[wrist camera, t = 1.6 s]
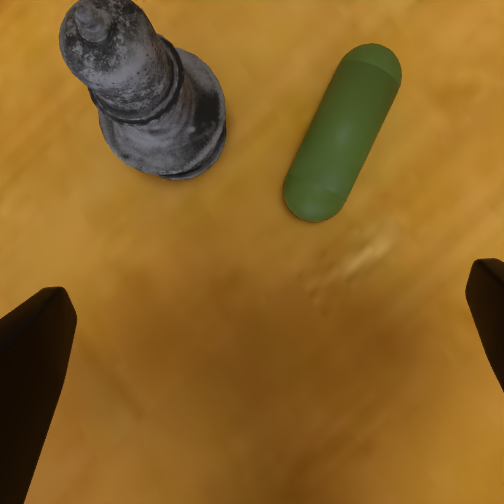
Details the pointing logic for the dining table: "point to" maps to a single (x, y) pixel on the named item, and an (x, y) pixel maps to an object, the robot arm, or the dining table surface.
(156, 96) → the chess piece
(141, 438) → the dining table surface
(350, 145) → the pickle
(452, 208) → the dining table surface
